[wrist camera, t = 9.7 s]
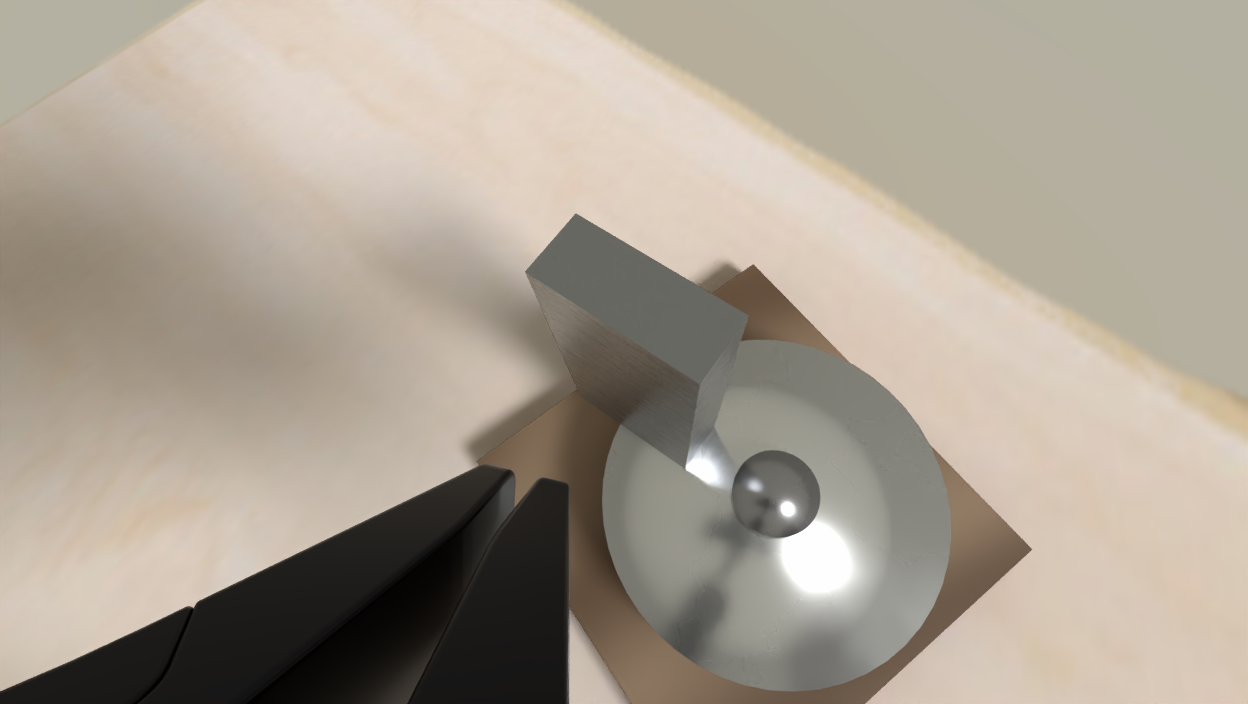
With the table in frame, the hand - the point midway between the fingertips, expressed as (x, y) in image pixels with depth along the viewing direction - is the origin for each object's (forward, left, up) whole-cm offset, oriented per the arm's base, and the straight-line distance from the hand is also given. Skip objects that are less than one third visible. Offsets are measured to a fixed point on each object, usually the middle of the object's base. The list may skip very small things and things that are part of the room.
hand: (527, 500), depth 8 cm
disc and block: (-1, -5, -11) cm, 12 cm away
